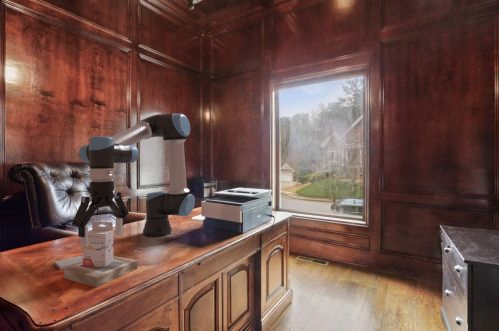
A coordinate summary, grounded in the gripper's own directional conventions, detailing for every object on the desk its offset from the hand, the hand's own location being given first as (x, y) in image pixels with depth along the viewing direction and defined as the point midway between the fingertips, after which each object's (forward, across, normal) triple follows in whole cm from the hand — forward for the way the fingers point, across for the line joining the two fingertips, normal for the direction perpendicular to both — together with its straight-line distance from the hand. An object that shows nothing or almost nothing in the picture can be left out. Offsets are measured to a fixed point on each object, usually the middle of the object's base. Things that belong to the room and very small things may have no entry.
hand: (103, 240), depth 94 cm
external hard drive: (+12, +2, +18) cm, 22 cm away
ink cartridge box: (+9, -1, +1) cm, 9 cm away
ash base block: (+12, 0, 0) cm, 12 cm away
